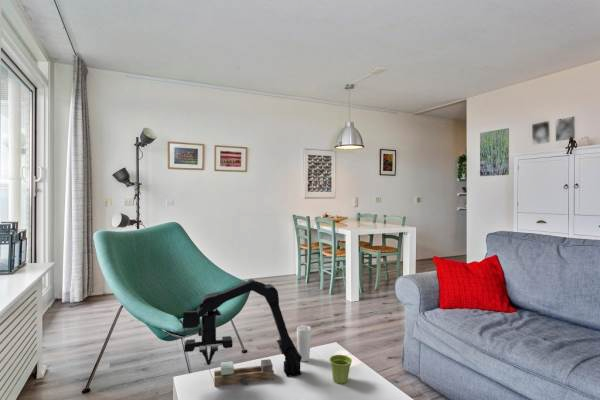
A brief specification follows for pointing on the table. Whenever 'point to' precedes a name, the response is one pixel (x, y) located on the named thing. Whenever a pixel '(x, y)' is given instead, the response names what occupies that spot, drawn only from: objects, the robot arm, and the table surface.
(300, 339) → the drinking glass
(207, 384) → the table surface
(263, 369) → the beam
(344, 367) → the plant pot
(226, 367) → the block
